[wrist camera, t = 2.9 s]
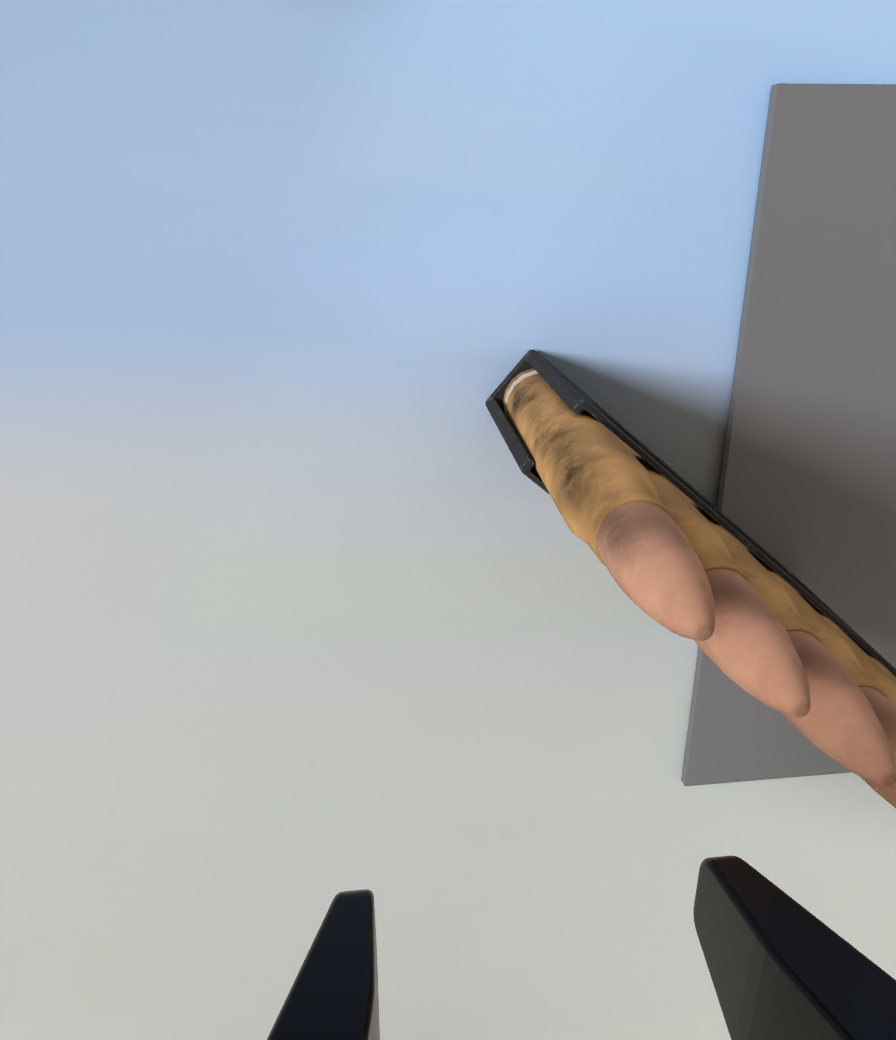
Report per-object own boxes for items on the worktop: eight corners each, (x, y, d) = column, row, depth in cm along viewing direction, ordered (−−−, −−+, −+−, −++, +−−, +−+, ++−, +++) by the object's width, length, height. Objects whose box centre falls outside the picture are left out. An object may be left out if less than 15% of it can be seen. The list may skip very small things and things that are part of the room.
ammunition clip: (802, 581, 23) (1191, 941, 12) (755, 626, 23) (1086, 1012, 12) (531, 346, 20) (707, 530, 9) (483, 403, 20) (592, 646, 9)
